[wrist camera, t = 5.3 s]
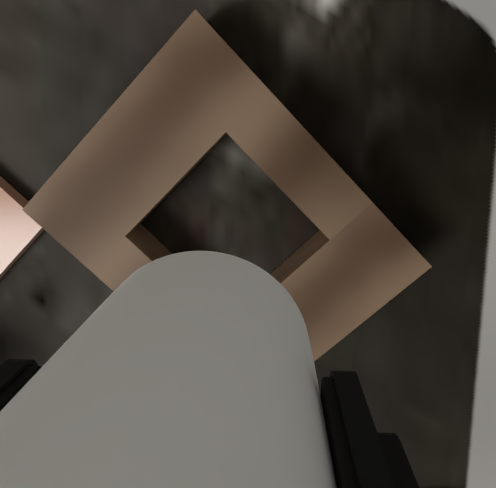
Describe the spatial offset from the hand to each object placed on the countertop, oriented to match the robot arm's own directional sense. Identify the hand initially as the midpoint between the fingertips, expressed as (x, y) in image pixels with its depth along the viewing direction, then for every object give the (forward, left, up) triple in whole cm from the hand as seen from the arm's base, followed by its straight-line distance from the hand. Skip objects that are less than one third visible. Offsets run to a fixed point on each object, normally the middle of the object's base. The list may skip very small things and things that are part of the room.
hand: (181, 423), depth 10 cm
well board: (+1, 0, -17) cm, 17 cm away
